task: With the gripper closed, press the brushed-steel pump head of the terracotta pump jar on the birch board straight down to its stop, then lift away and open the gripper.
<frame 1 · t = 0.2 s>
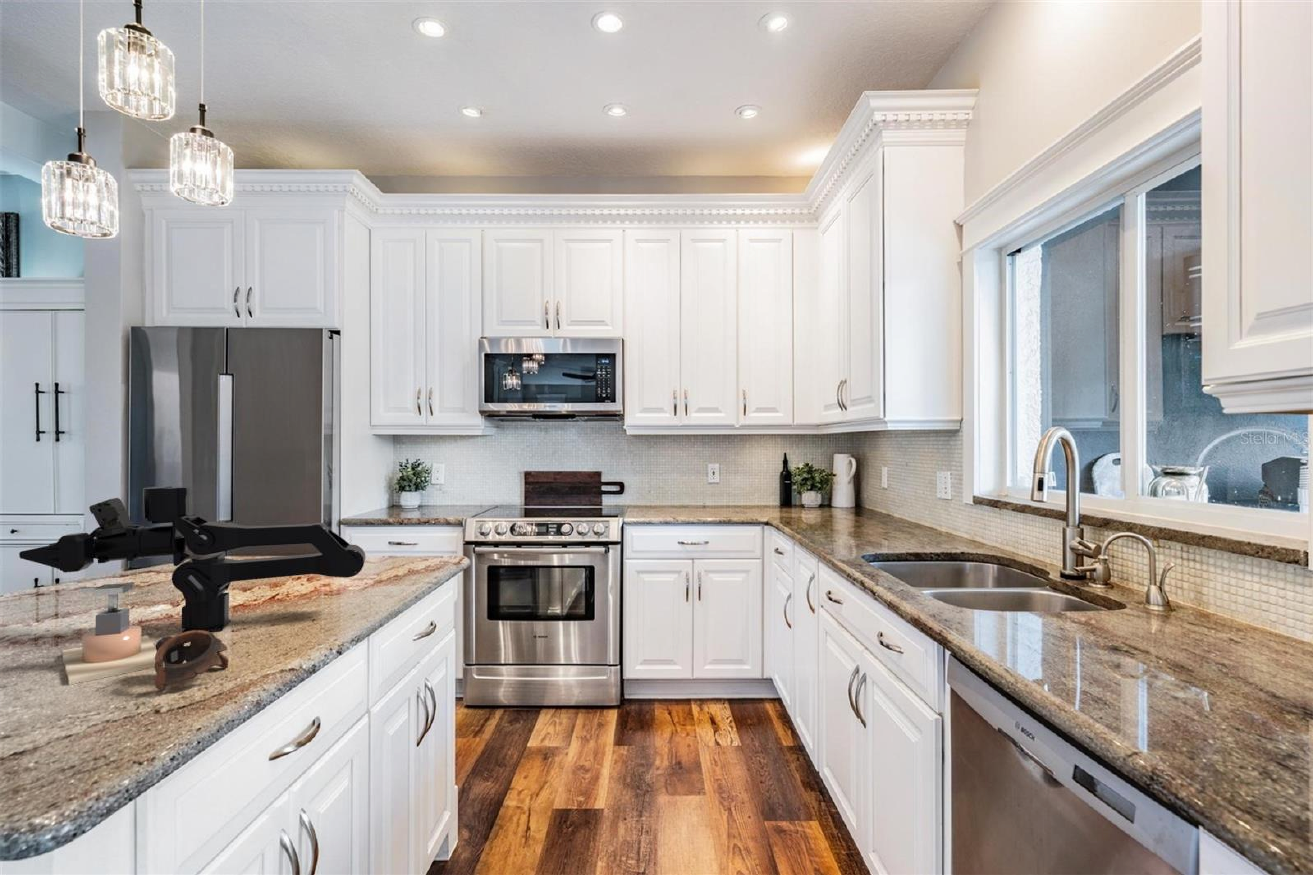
hand: (35, 550, 107), 16 cm above the counter, tool horizontal, fingers open, 9 cm apart
pump head: (103, 599, 99), point 10 cm above the counter, slide at 3.0 cm
pump jar: (112, 633, 99), on the birch board, point 4 cm above the counter
birch board: (112, 660, 99), on the counter
brown ring stand: (187, 680, 91), on the counter
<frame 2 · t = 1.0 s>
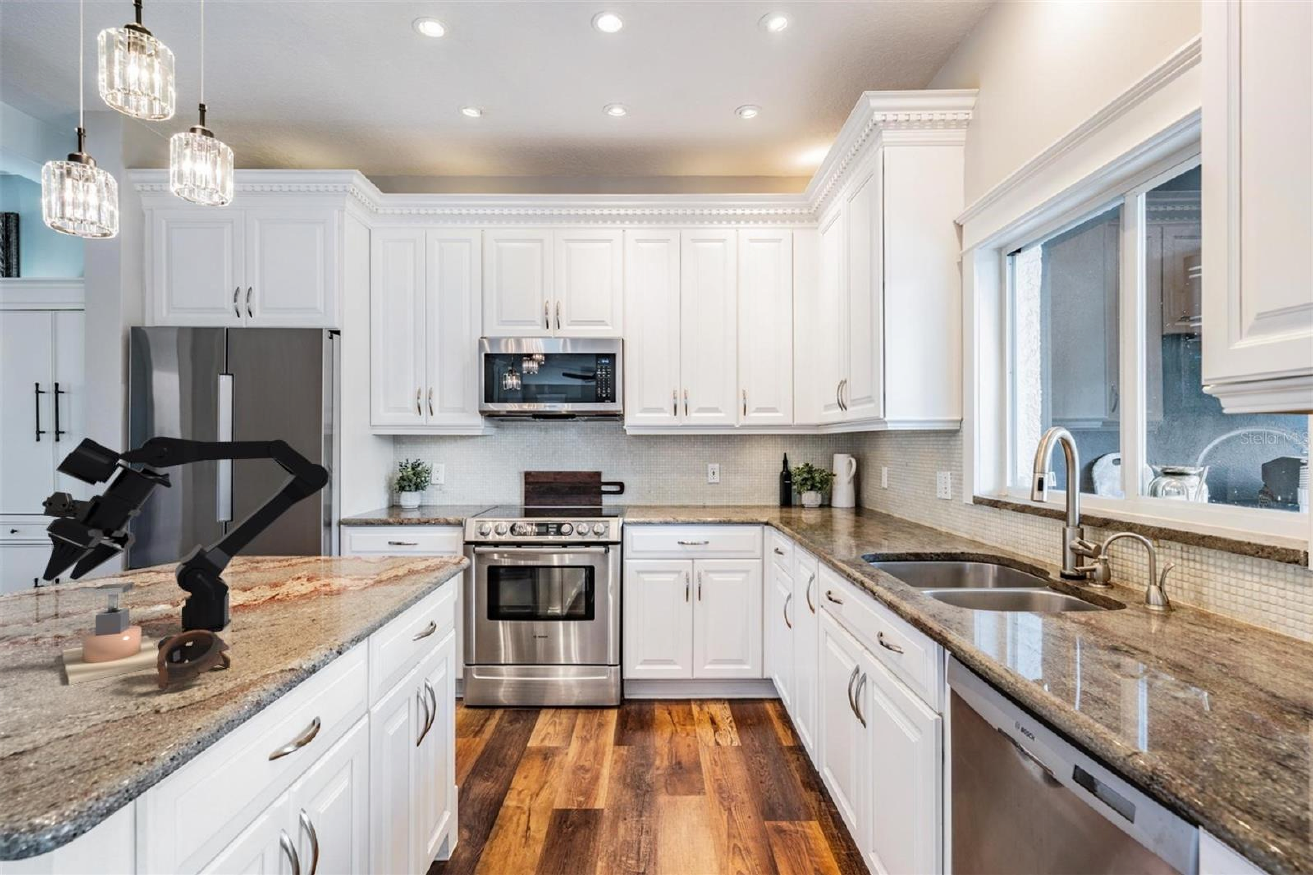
hand: (59, 579, 103), 12 cm above the counter, tool tilted 30°, fingers open, 9 cm apart
nothing on the counter moved.
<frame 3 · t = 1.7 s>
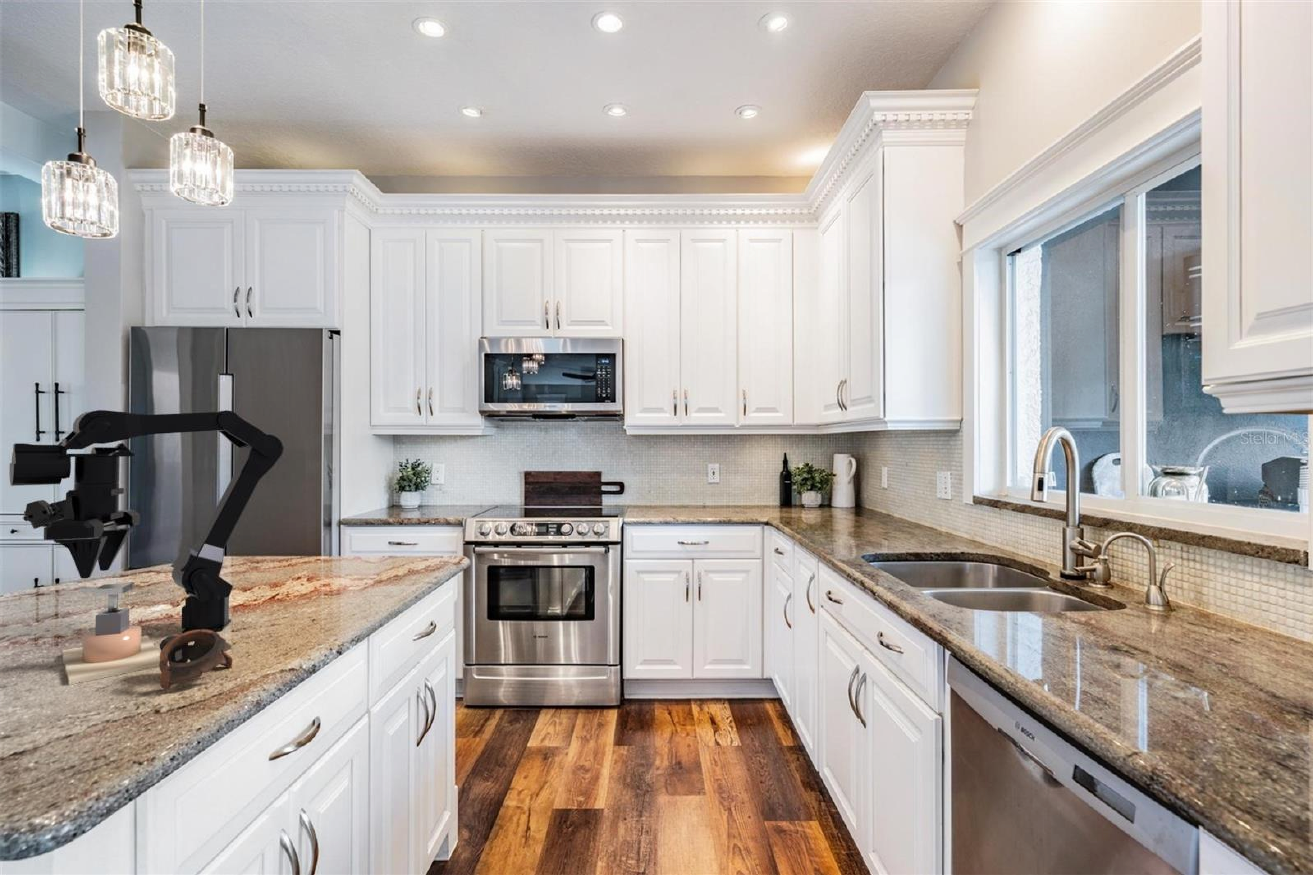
hand: (95, 574, 104), 13 cm above the counter, tool pointing down, fingers open, 6 cm apart
nothing on the counter moved.
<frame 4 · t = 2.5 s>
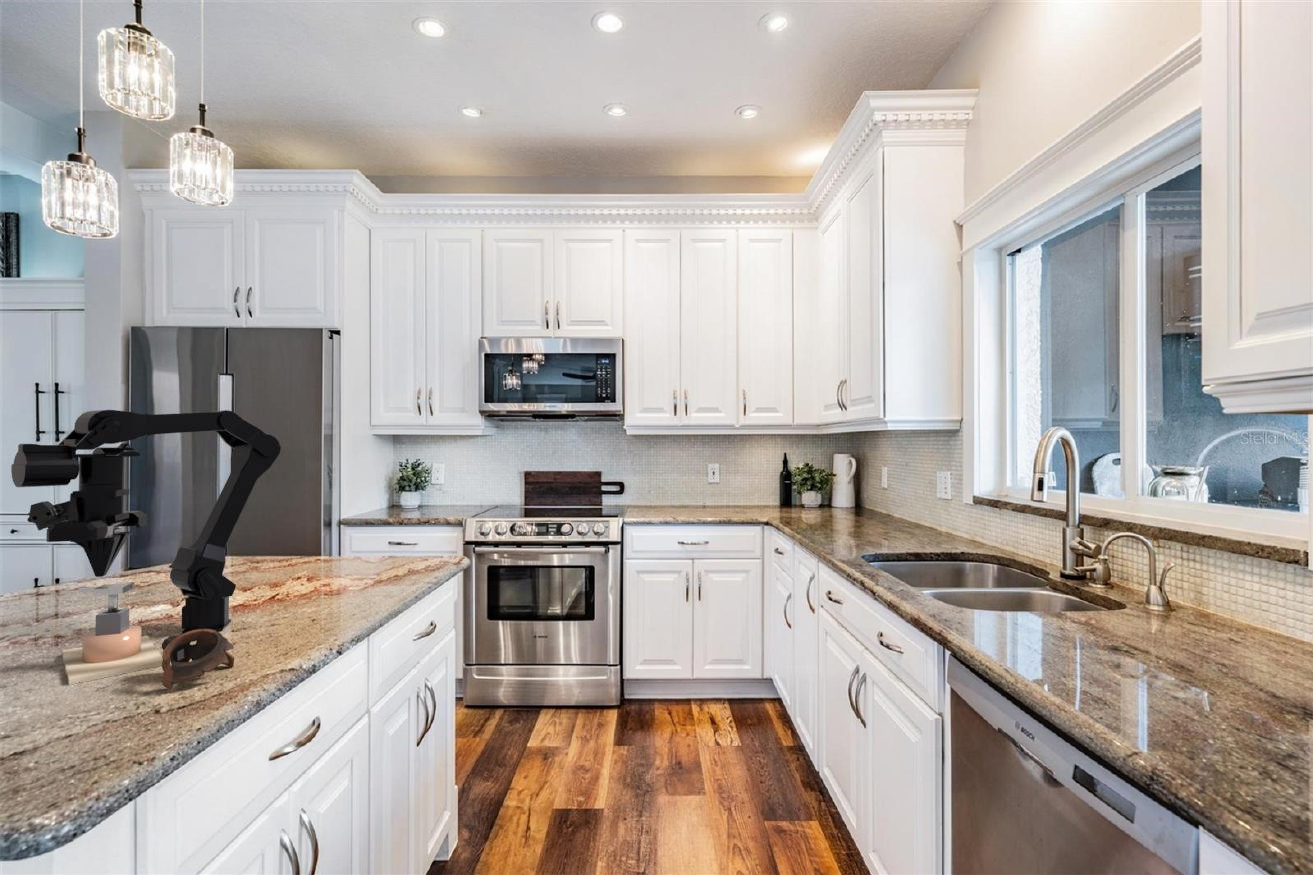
hand: (100, 576, 102), 13 cm above the counter, tool pointing down, fingers closed
nothing on the counter moved.
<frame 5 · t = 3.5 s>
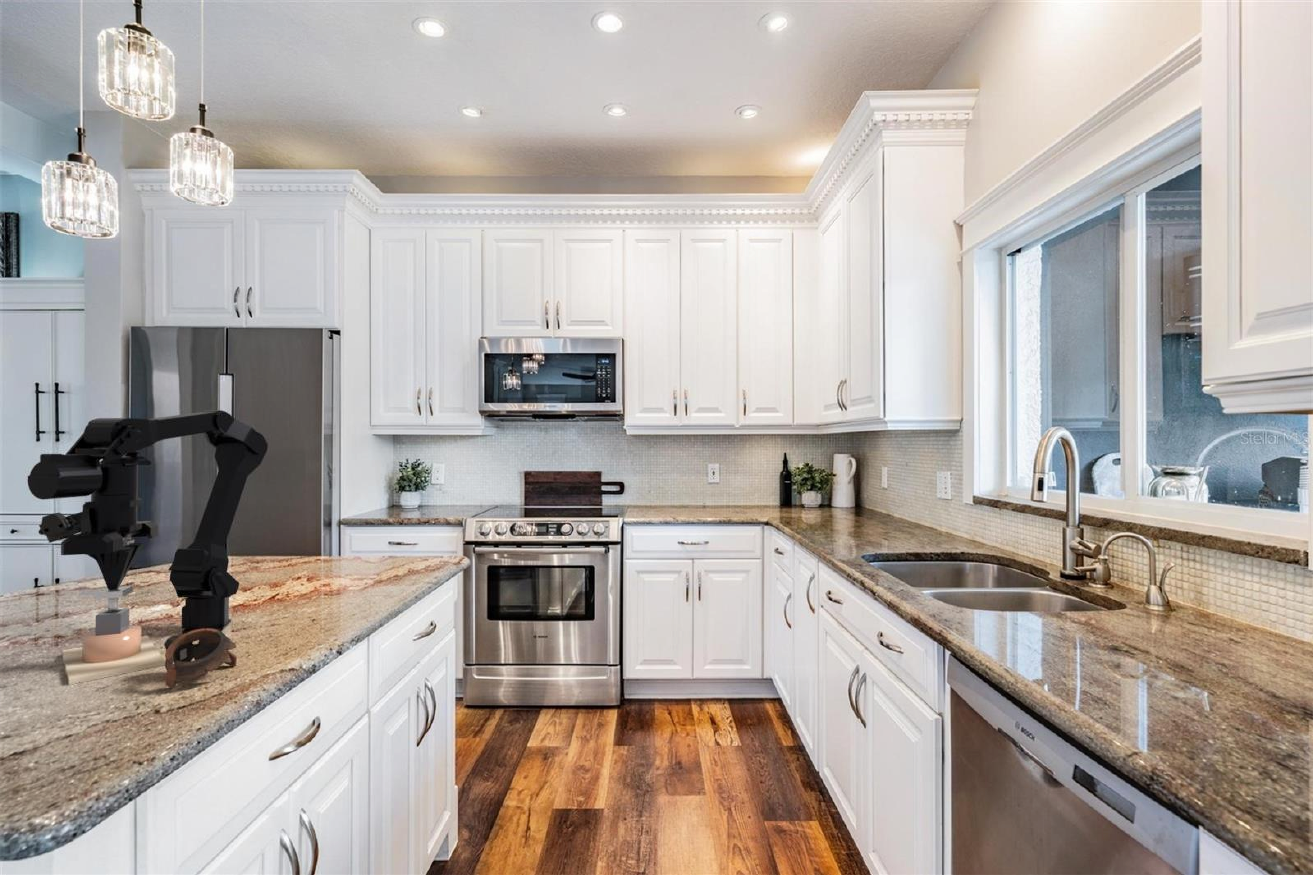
hand: (113, 589, 99), 12 cm above the counter, tool pointing down, fingers closed, pressing on pump head
pump head: (103, 602, 99), point 9 cm above the counter, slide at 2.5 cm, touching gripper
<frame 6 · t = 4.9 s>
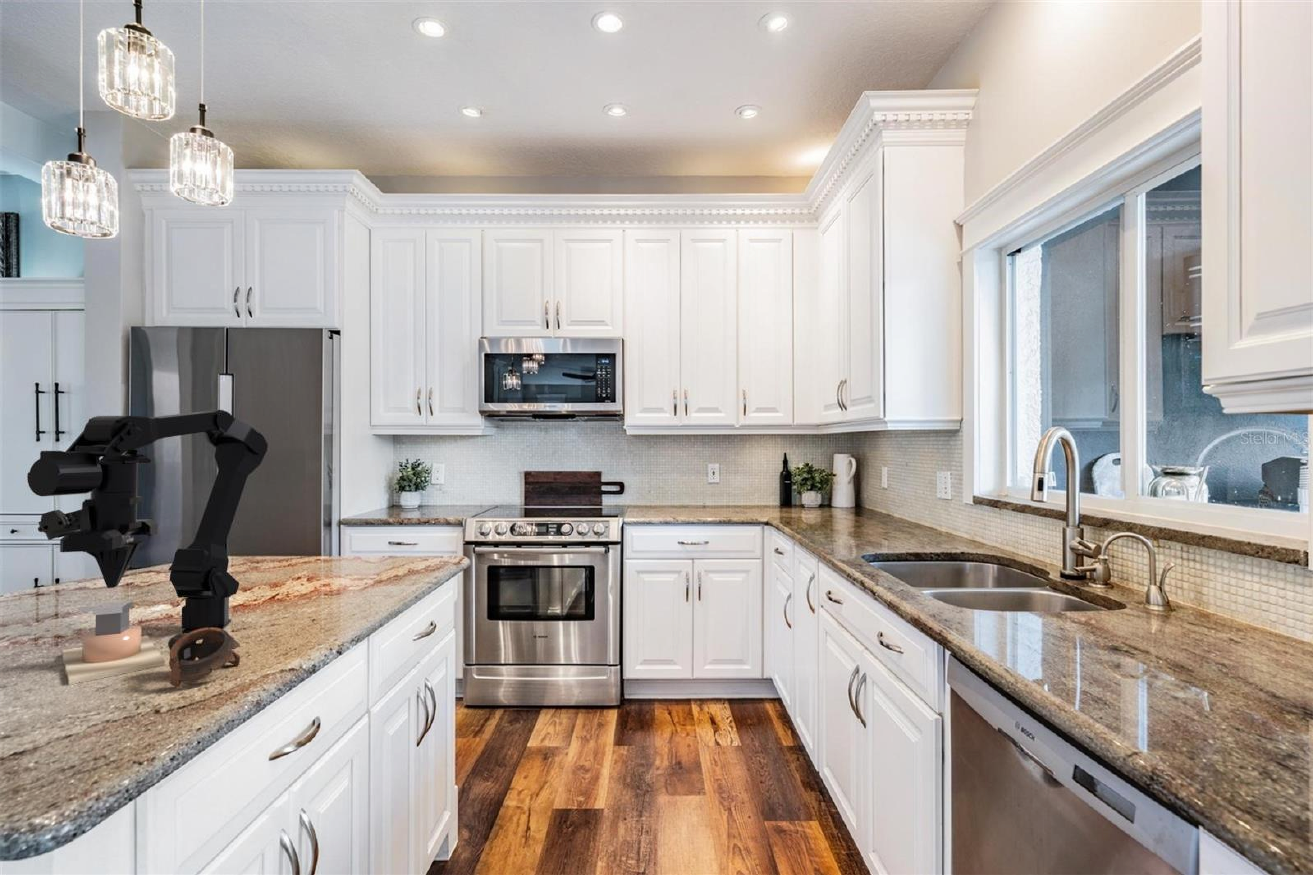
hand: (112, 587, 99), 12 cm above the counter, tool pointing down, fingers closed
pump head: (103, 618, 99), point 7 cm above the counter, slide at -0.1 cm
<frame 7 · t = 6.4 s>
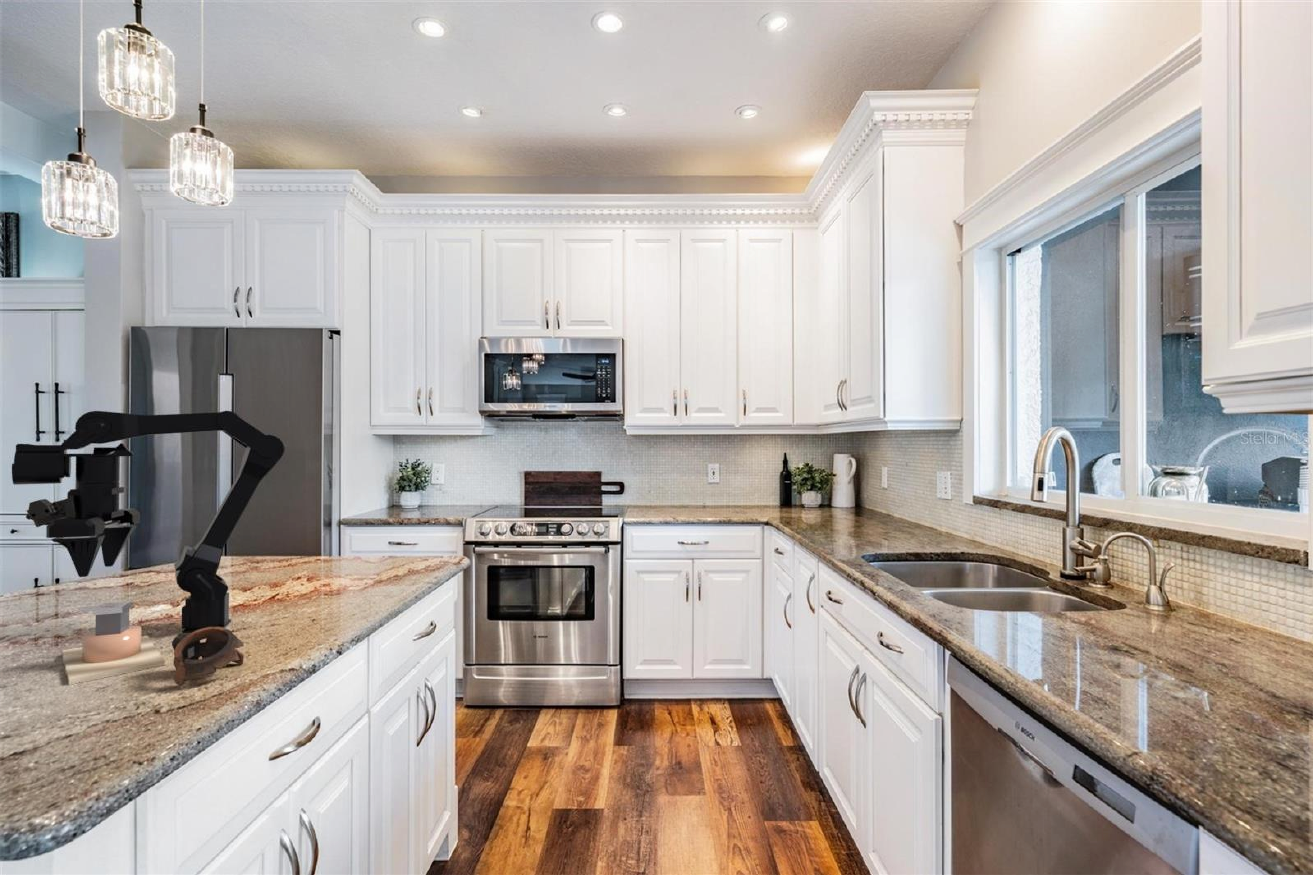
hand: (96, 571, 106), 13 cm above the counter, tool pointing down, fingers open, 9 cm apart
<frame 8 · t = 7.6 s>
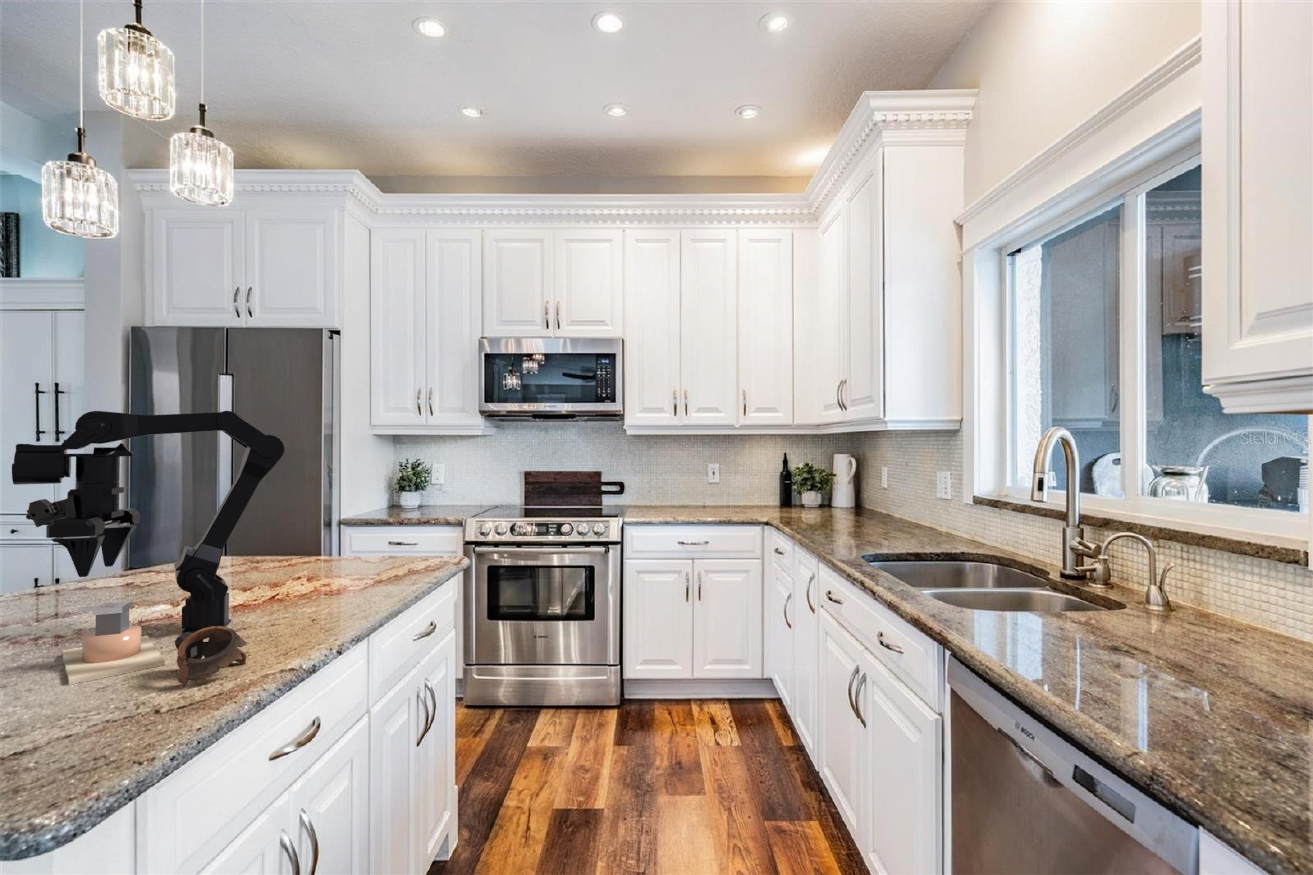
hand: (96, 571, 106), 13 cm above the counter, tool pointing down, fingers open, 9 cm apart
at the end: pump head slide at -0.1 cm; brown ring stand moved 2.8 cm from its start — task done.
